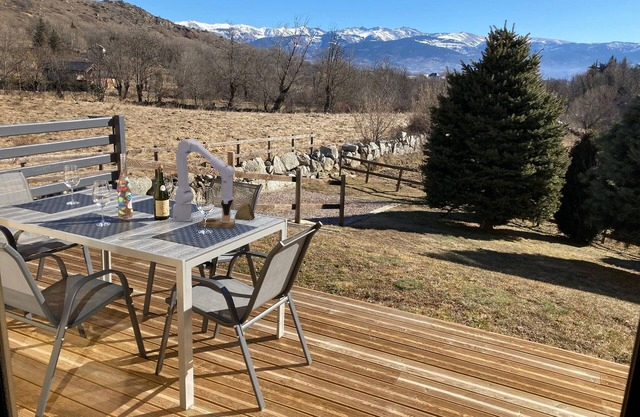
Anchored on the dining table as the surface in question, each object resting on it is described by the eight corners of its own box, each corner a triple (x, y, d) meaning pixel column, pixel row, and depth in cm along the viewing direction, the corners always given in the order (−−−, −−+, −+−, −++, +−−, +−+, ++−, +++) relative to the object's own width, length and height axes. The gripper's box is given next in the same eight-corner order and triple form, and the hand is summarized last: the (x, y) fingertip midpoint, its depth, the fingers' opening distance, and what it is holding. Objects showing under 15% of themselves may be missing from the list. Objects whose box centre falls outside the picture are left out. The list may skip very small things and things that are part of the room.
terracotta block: (222, 220, 249) (222, 207, 248) (222, 218, 253) (223, 206, 252) (229, 220, 250) (230, 207, 248) (230, 219, 253) (230, 206, 252)
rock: (229, 215, 264) (243, 215, 259) (234, 201, 267) (248, 202, 262) (240, 223, 272) (254, 224, 267) (245, 210, 275) (258, 211, 270)
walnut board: (200, 227, 245) (200, 223, 244) (203, 221, 256) (203, 218, 256) (233, 228, 247) (233, 224, 246) (235, 222, 258) (235, 218, 258)
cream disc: (219, 222, 248) (219, 221, 248) (220, 219, 255) (220, 218, 254) (232, 223, 248) (232, 222, 248) (233, 219, 255) (233, 218, 255)
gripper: (233, 192, 241) (233, 217, 244) (235, 186, 255) (235, 211, 258) (219, 191, 240) (219, 217, 243) (222, 186, 254) (222, 211, 257)
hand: (226, 214), depth 251 cm, fingers closed on terracotta block, 4 cm apart
